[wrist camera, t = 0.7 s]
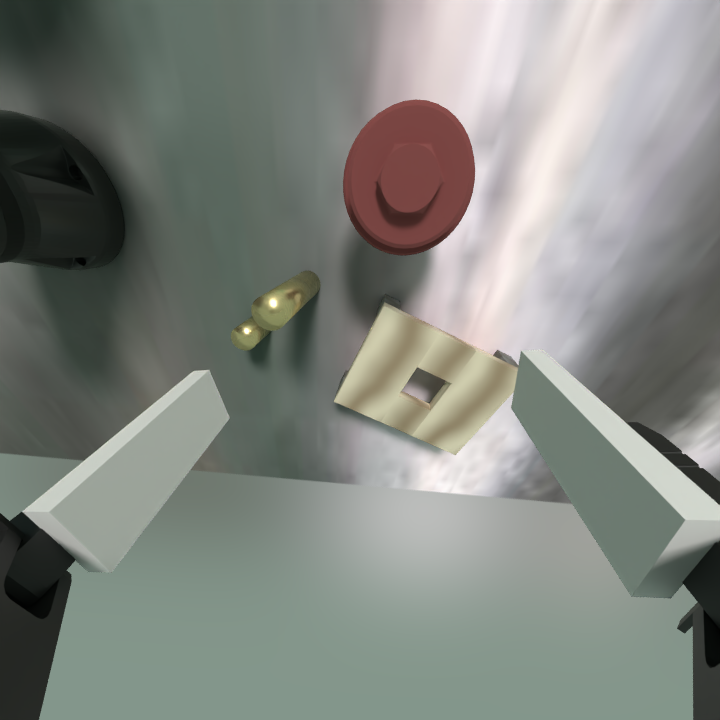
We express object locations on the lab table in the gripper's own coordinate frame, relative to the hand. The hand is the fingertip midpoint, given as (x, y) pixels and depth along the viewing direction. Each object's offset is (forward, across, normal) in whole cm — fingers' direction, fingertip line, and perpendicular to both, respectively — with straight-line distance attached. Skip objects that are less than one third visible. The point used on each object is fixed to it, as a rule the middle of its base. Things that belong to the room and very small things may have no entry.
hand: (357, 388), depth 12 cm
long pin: (+24, -8, 0) cm, 25 cm away
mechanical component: (+24, +4, +8) cm, 25 cm away
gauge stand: (+23, +5, -13) cm, 27 cm away
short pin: (+24, -16, -5) cm, 29 cm away
